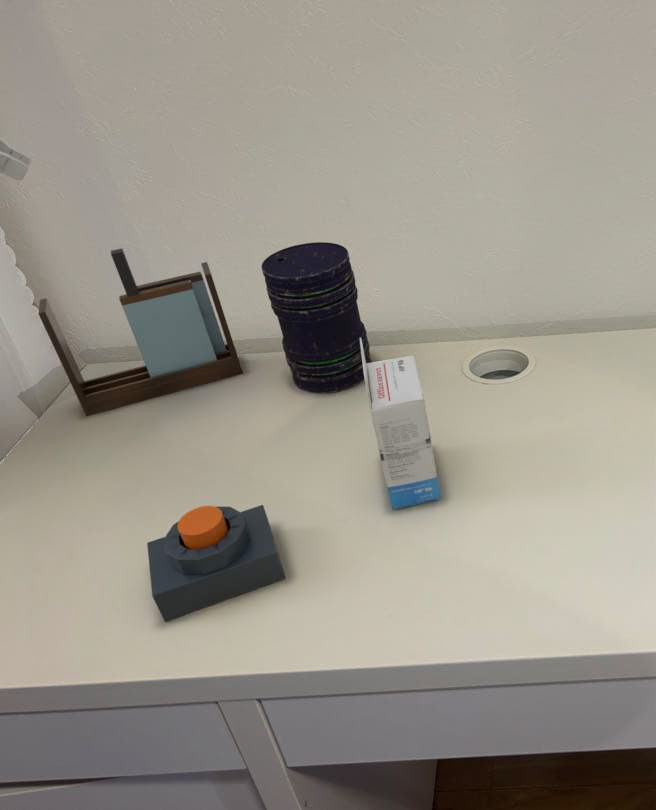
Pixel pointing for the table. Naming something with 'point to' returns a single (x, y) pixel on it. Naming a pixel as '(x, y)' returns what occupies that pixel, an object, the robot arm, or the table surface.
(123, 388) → the window frame
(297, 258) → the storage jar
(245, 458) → the table surface
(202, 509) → the release button
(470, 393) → the table surface
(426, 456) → the ink box
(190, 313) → the window pane
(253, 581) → the button block
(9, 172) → the robot arm
